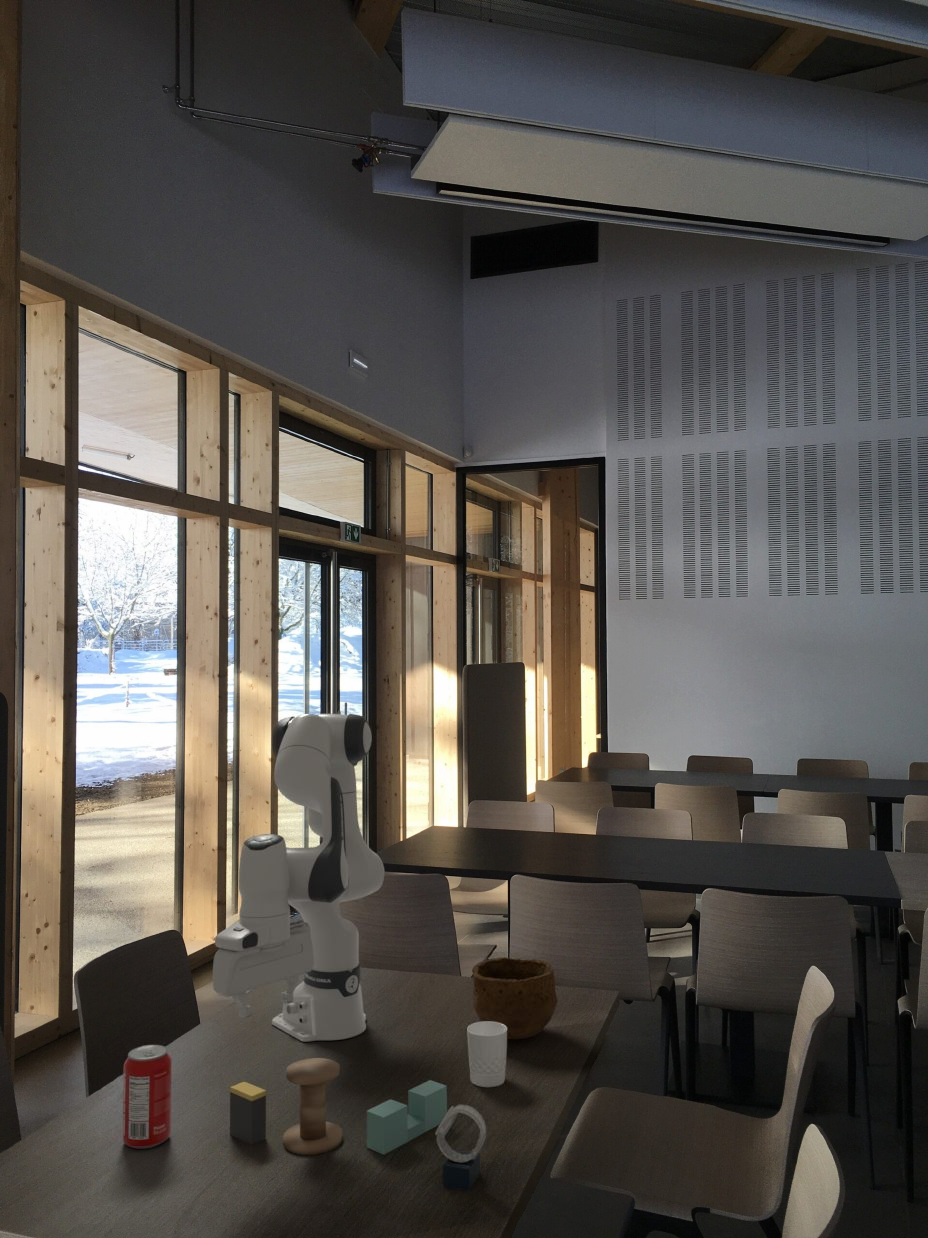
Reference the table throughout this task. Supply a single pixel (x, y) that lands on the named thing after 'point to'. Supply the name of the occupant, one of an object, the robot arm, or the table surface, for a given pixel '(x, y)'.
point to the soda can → (147, 1097)
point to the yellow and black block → (248, 1112)
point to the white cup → (487, 1053)
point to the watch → (460, 1151)
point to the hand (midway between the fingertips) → (266, 1009)
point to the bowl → (515, 994)
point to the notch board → (406, 1117)
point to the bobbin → (312, 1108)
